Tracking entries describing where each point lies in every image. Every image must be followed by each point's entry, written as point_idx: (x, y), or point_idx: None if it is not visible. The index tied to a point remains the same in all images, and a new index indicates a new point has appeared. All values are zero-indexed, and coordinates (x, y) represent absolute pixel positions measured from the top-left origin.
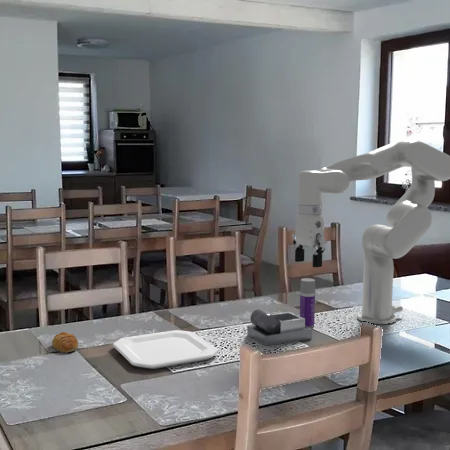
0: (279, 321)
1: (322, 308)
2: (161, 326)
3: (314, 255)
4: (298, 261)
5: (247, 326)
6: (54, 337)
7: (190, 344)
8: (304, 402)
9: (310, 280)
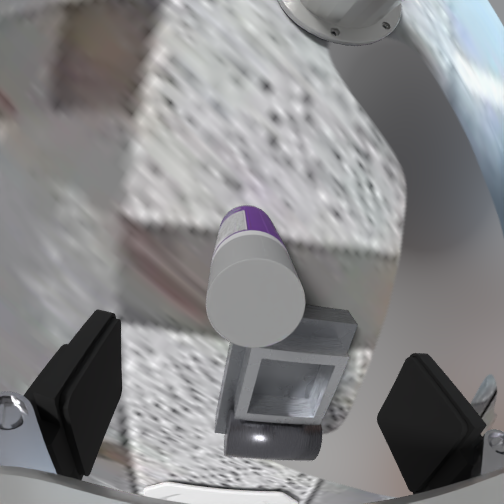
0: (321, 431)
1: (122, 32)
2: None
3: (429, 485)
4: (121, 375)
5: (215, 431)
6: None
7: (219, 499)
8: None
9: (280, 305)
